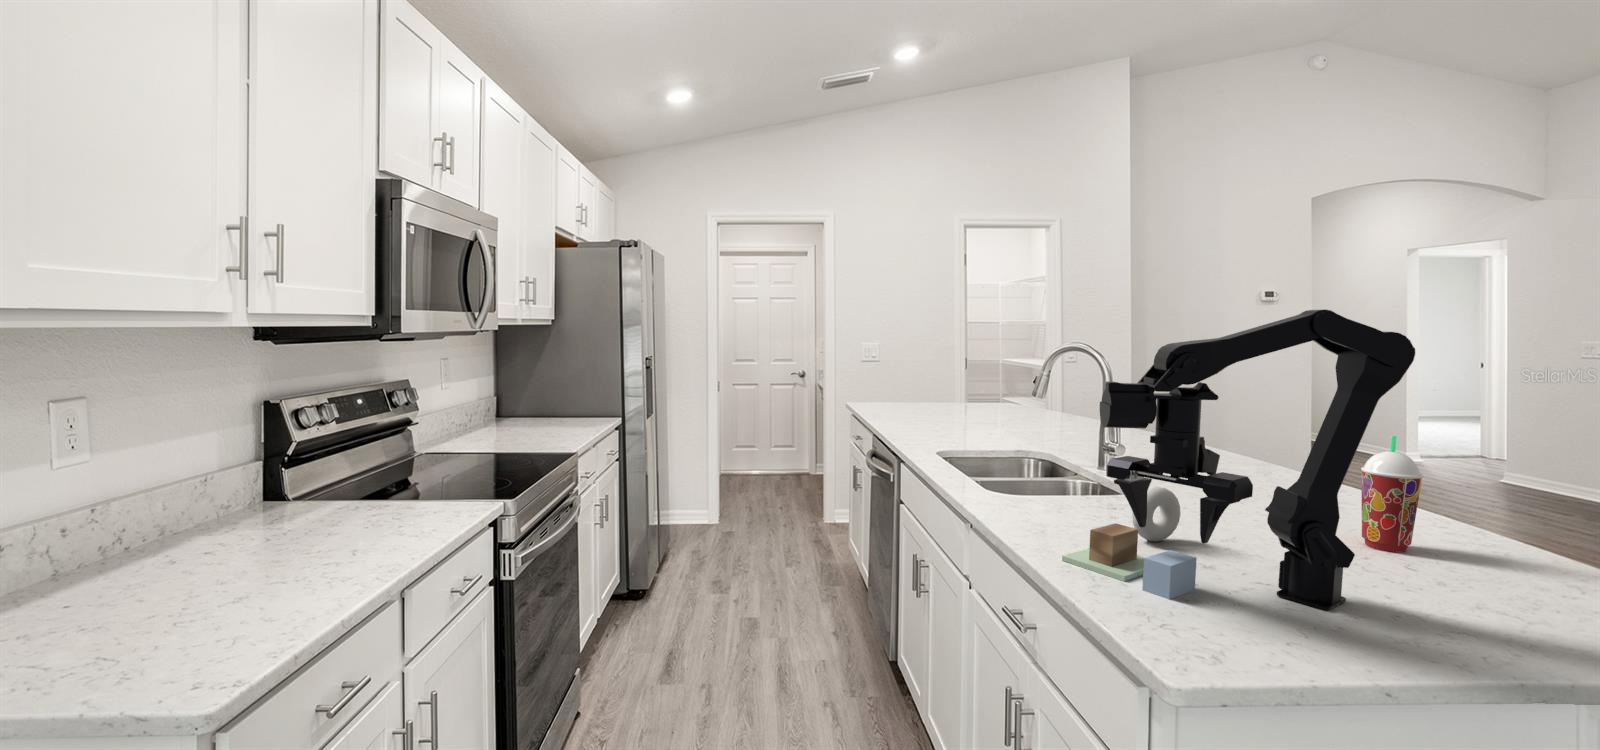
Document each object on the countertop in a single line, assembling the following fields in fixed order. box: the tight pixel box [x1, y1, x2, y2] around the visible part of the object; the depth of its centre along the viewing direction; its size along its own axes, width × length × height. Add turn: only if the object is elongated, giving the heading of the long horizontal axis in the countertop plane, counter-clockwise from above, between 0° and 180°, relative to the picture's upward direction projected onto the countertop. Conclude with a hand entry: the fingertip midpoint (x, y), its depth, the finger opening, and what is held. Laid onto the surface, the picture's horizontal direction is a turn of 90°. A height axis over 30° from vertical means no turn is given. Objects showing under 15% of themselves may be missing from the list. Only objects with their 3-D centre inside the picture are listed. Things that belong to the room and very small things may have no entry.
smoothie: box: [1360, 435, 1424, 553], centre depth 125 cm, size 8×8×20 cm
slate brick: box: [1141, 549, 1198, 600], centre depth 104 cm, size 4×7×5 cm, turn 123°
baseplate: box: [1061, 547, 1146, 582], centre depth 115 cm, size 11×11×1 cm
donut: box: [1131, 486, 1181, 543], centre depth 127 cm, size 10×4×10 cm, turn 111°
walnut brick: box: [1089, 522, 1139, 567], centre depth 115 cm, size 4×7×5 cm, turn 124°
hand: (1172, 534), depth 104 cm, fingers open, 9 cm apart
